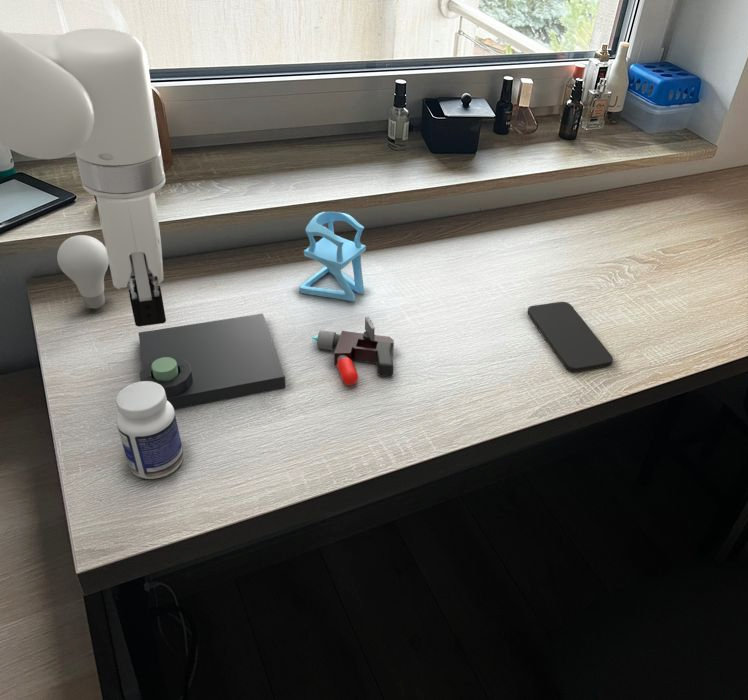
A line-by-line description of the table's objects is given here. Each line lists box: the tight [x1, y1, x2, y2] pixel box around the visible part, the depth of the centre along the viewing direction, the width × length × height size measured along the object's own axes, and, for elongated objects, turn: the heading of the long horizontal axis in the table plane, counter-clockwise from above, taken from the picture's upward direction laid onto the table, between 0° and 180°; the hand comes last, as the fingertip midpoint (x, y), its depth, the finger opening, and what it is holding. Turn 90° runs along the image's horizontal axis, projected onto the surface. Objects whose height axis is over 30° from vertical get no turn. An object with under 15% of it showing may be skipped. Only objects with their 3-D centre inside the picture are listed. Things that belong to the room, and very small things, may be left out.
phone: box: [527, 301, 614, 373], centre depth 106 cm, size 7×1×15 cm
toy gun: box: [311, 316, 395, 386], centre depth 95 cm, size 10×12×5 cm
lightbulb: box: [56, 234, 109, 310], centre depth 97 cm, size 6×6×11 cm
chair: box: [298, 211, 367, 303], centre depth 106 cm, size 8×8×12 cm
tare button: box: [152, 357, 178, 381], centre depth 86 cm, size 3×3×2 cm
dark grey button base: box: [138, 313, 287, 410], centre depth 92 cm, size 16×14×4 cm
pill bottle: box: [115, 381, 184, 480], centre depth 77 cm, size 6×6×10 cm
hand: (150, 320), depth 81 cm, fingers closed
